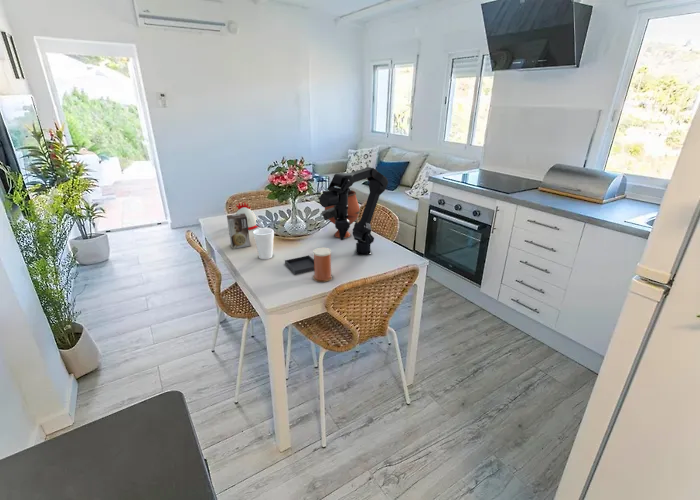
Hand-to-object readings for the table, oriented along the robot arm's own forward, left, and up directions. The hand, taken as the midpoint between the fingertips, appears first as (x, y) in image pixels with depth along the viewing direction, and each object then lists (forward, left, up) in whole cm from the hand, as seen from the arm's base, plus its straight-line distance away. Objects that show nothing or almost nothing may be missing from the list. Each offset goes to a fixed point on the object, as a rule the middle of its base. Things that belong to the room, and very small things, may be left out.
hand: (341, 236), depth 159 cm
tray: (+18, +4, -13) cm, 23 cm away
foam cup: (+36, -8, -13) cm, 39 cm away
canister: (+9, +16, -12) cm, 22 cm away
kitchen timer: (+53, -52, -13) cm, 75 cm away
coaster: (+9, +16, -13) cm, 22 cm away
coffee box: (+51, -22, -13) cm, 57 cm away
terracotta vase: (-3, -34, -13) cm, 37 cm away
